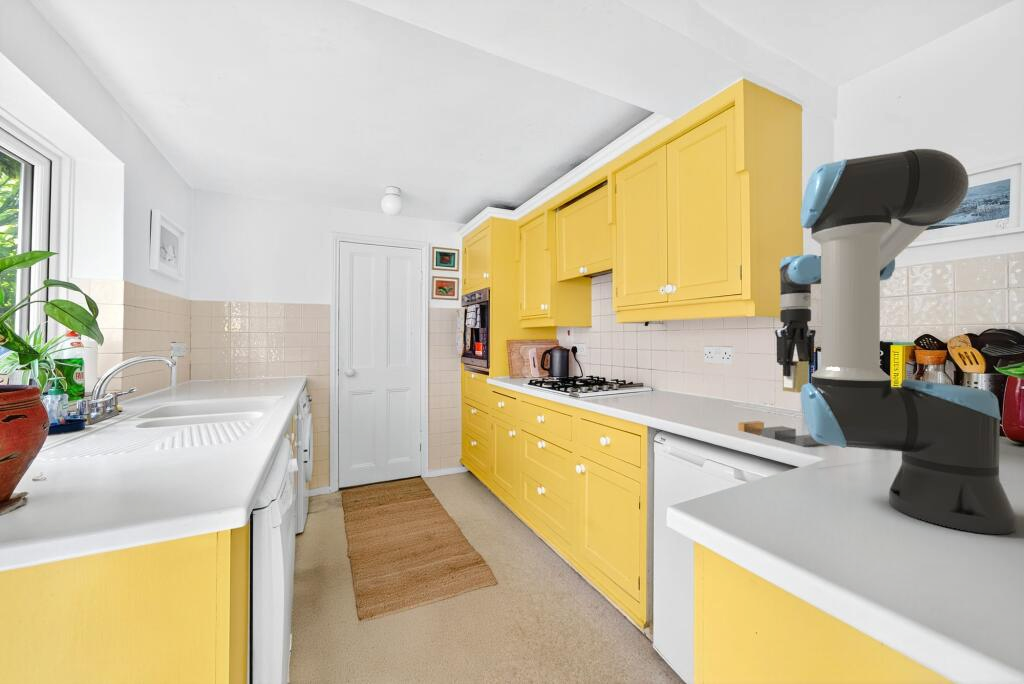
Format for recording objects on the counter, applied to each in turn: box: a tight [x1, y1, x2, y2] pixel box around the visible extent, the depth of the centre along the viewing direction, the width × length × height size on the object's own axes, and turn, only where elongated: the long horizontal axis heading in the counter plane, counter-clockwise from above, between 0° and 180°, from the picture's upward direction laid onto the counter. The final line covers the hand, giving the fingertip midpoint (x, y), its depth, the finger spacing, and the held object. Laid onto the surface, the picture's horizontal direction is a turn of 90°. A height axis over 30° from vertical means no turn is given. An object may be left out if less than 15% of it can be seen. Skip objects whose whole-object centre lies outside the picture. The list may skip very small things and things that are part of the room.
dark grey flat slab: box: [737, 420, 825, 448], centre depth 125 cm, size 8×22×3 cm, turn 17°
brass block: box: [782, 360, 810, 394], centre depth 120 cm, size 4×4×9 cm
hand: (795, 386), depth 120 cm, fingers closed on brass block, 4 cm apart
